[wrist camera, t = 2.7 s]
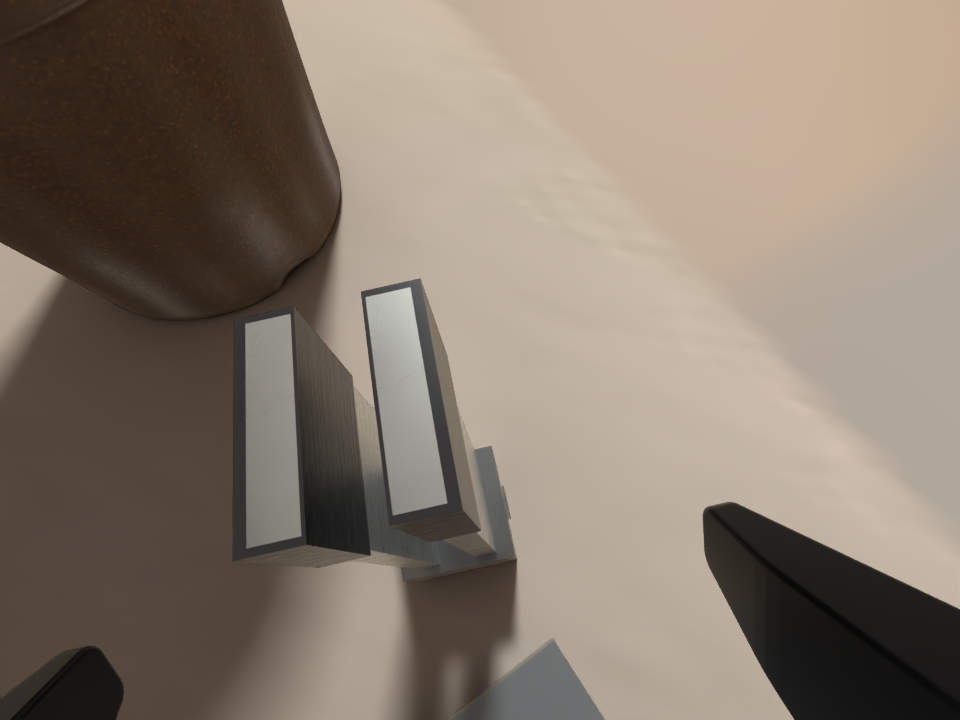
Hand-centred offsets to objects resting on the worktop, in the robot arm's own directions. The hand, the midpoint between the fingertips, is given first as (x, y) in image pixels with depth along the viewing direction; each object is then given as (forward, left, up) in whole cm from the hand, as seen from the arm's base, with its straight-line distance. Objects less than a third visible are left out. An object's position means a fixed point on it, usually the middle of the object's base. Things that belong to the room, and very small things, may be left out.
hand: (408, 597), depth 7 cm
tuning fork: (+2, -1, -10) cm, 10 cm away
